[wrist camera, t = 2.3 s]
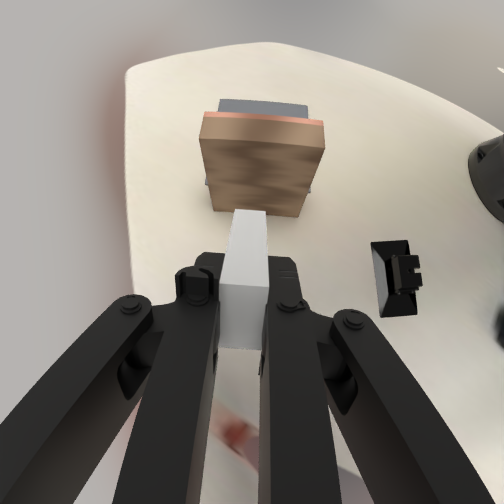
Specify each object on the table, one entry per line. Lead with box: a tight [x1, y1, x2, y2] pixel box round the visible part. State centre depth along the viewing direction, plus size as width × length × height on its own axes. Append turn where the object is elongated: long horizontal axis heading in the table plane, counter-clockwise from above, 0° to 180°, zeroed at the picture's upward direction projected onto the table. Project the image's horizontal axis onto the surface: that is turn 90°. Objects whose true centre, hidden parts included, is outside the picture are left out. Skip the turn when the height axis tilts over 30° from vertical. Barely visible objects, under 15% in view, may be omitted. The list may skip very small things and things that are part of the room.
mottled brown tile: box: [199, 112, 325, 217], centre depth 30 cm, size 10×3×14 cm, turn 86°
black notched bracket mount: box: [371, 240, 423, 318], centre depth 33 cm, size 12×7×5 cm, turn 2°
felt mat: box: [205, 99, 310, 193], centre depth 39 cm, size 13×15×1 cm
